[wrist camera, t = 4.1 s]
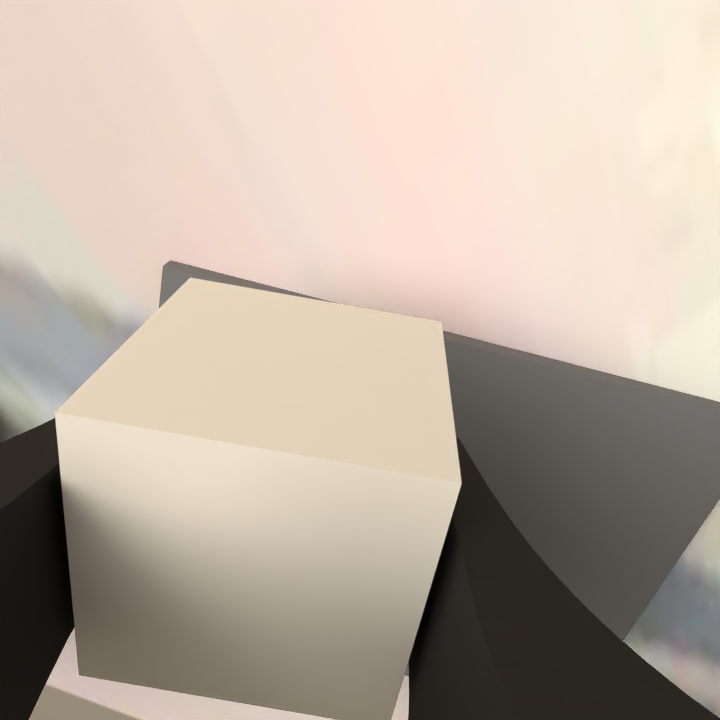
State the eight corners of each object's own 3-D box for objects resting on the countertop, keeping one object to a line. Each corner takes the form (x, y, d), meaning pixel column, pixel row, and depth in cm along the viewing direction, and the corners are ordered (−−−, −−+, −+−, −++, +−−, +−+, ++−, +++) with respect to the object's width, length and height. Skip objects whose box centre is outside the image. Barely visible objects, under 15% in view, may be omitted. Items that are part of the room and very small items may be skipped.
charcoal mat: (761, 413, 20) (771, 423, 19) (569, 700, 27) (572, 713, 26) (170, 260, 19) (162, 266, 18) (136, 600, 26) (130, 611, 26)
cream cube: (442, 321, 12) (462, 482, 7) (394, 514, 14) (388, 728, 10) (189, 277, 12) (54, 412, 7) (184, 478, 14) (79, 675, 9)
